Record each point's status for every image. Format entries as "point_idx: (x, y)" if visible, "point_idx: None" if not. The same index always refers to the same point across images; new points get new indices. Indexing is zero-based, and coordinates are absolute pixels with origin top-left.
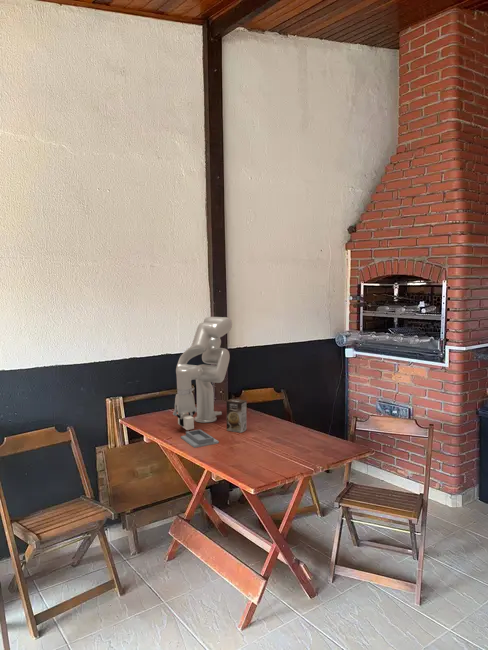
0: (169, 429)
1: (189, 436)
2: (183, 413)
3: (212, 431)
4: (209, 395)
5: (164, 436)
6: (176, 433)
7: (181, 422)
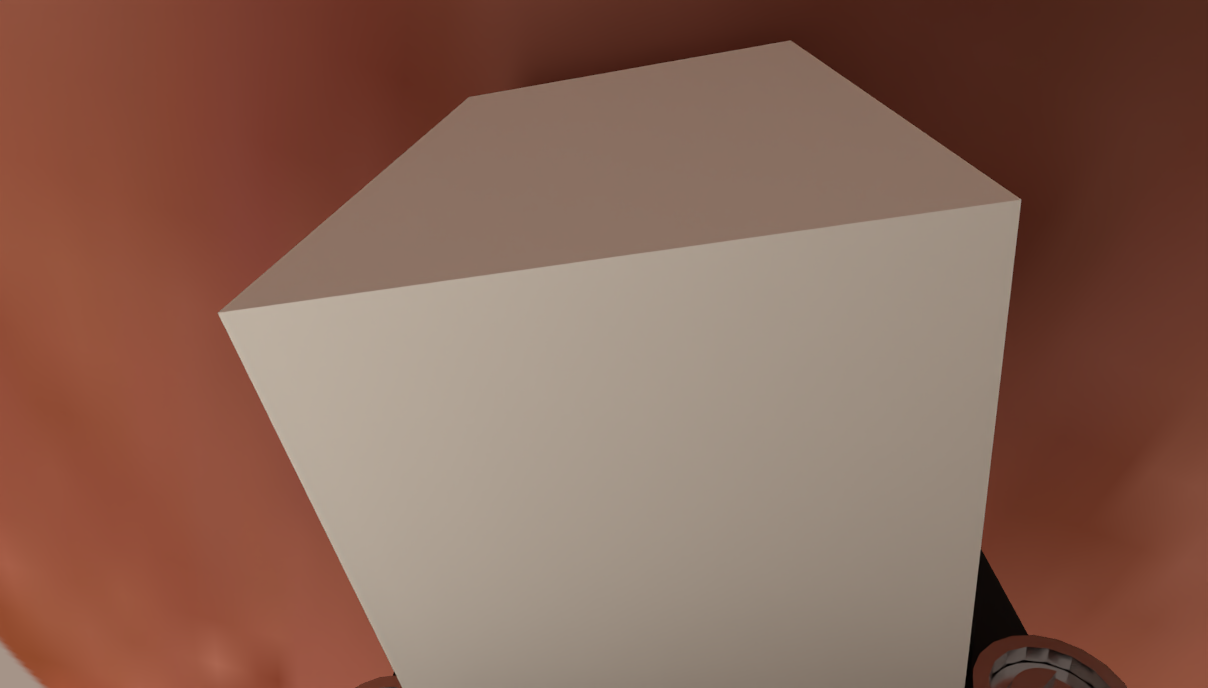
0: (197, 136)
1: None
2: (711, 586)
3: (1198, 649)
4: None
5: (121, 603)
6: None
7: None
